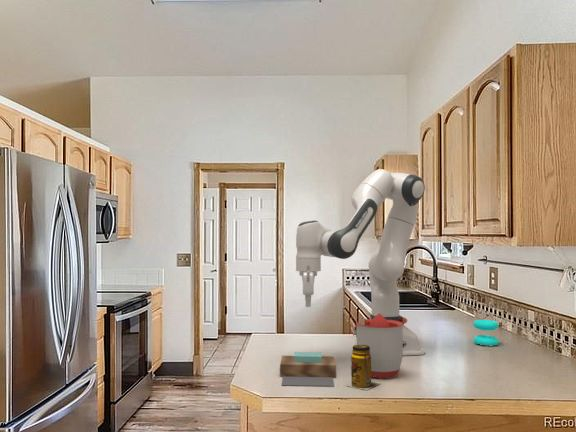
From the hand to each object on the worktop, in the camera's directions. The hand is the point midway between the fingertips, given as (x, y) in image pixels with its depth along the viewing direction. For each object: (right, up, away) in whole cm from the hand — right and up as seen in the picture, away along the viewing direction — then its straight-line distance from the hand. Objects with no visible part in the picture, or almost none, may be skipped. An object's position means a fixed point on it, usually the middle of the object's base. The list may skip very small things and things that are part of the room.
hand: (308, 305), depth 174 cm
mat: (-1, -20, -21) cm, 29 cm away
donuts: (+78, -24, +36) cm, 88 cm away
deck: (0, -21, -10) cm, 23 cm away
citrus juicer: (+23, -21, -11) cm, 33 cm away
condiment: (+16, -20, -24) cm, 35 cm away
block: (0, -17, -10) cm, 19 cm away
